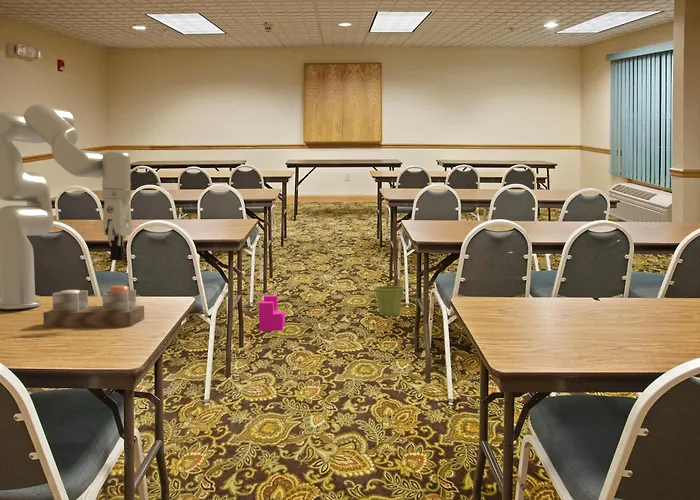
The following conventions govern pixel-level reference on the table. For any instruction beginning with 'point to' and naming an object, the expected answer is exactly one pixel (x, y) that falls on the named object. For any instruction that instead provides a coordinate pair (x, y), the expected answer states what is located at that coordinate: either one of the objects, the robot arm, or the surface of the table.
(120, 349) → the table surface
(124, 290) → the plunger salmon pink
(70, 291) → the plunger white
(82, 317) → the button box
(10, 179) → the robot arm
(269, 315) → the toy block
